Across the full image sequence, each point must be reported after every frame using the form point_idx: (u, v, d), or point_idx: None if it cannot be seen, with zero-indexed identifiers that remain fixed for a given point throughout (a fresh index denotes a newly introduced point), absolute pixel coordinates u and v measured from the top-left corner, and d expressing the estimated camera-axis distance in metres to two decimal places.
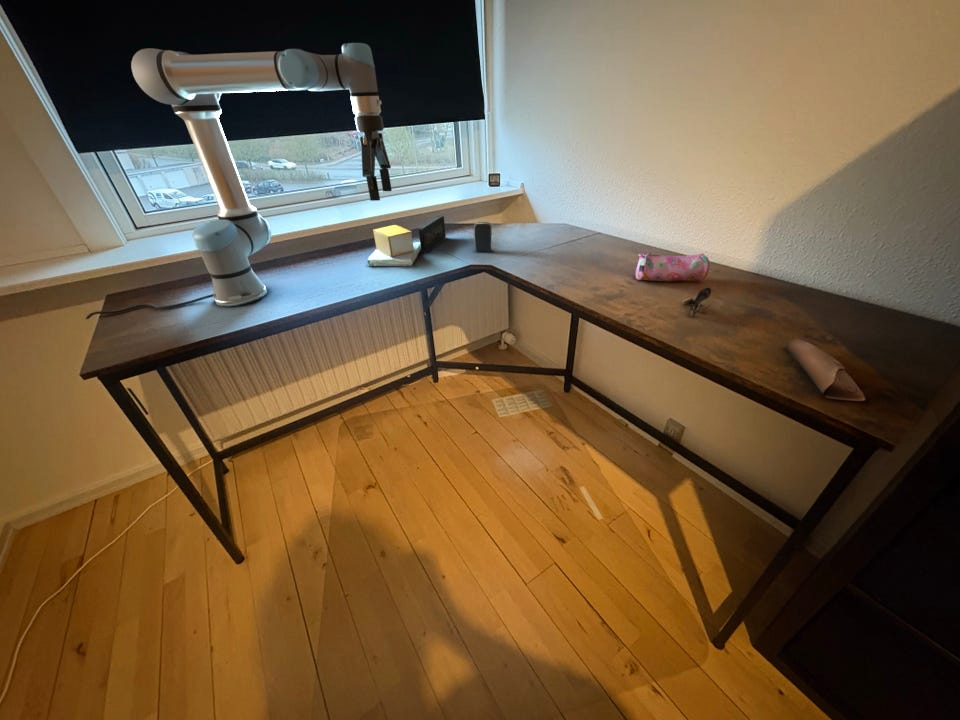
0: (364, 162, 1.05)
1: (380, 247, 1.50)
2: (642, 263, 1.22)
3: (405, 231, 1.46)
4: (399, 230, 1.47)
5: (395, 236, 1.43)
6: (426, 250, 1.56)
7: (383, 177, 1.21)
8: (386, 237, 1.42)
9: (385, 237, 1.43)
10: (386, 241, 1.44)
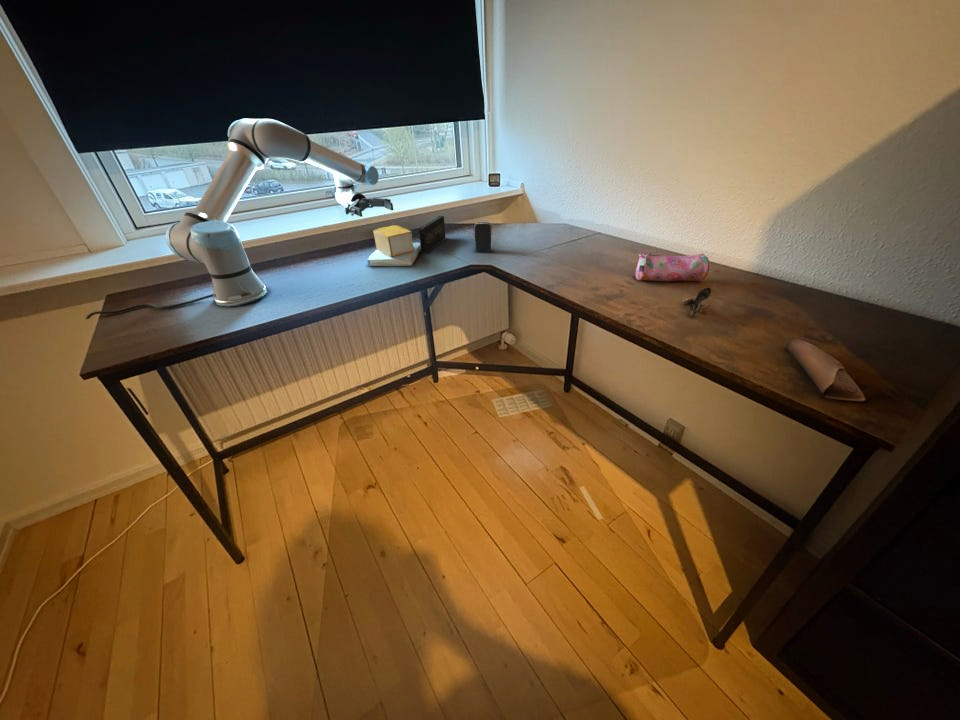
0: None
1: (380, 247, 1.50)
2: (642, 263, 1.22)
3: (405, 231, 1.46)
4: (399, 230, 1.47)
5: (395, 236, 1.43)
6: (426, 250, 1.56)
7: (387, 206, 1.57)
8: (386, 237, 1.42)
9: (385, 237, 1.43)
10: (386, 241, 1.44)
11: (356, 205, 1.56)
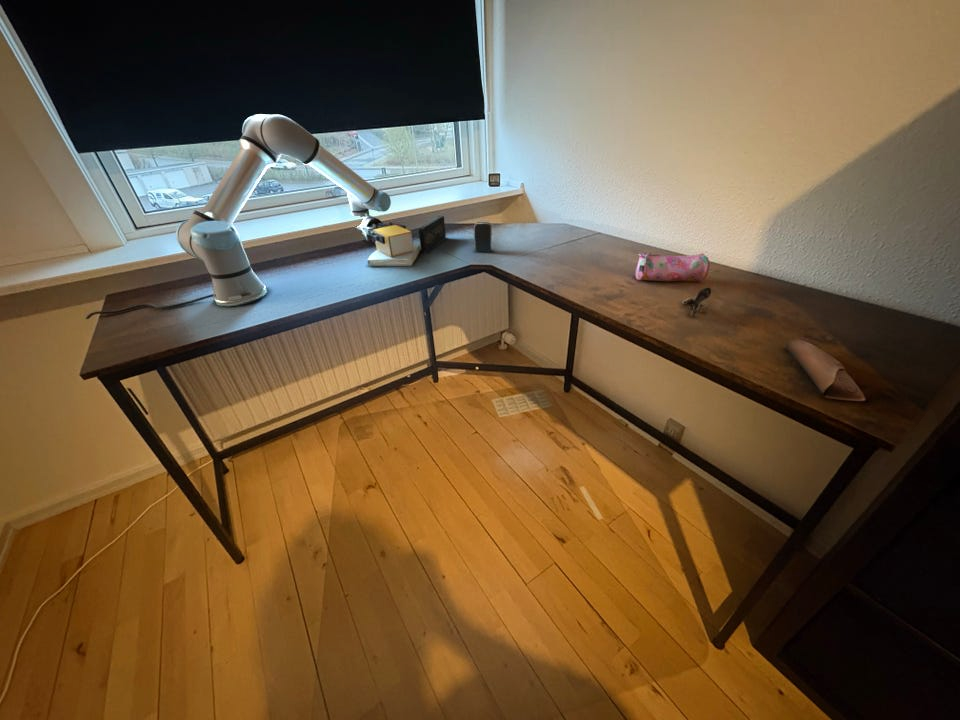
0: (365, 236, 1.50)
1: (380, 247, 1.50)
2: (642, 263, 1.22)
3: (405, 231, 1.46)
4: (399, 230, 1.47)
5: (395, 236, 1.43)
6: (426, 250, 1.56)
7: None
8: (386, 237, 1.42)
9: (385, 237, 1.43)
10: (386, 241, 1.44)
11: None
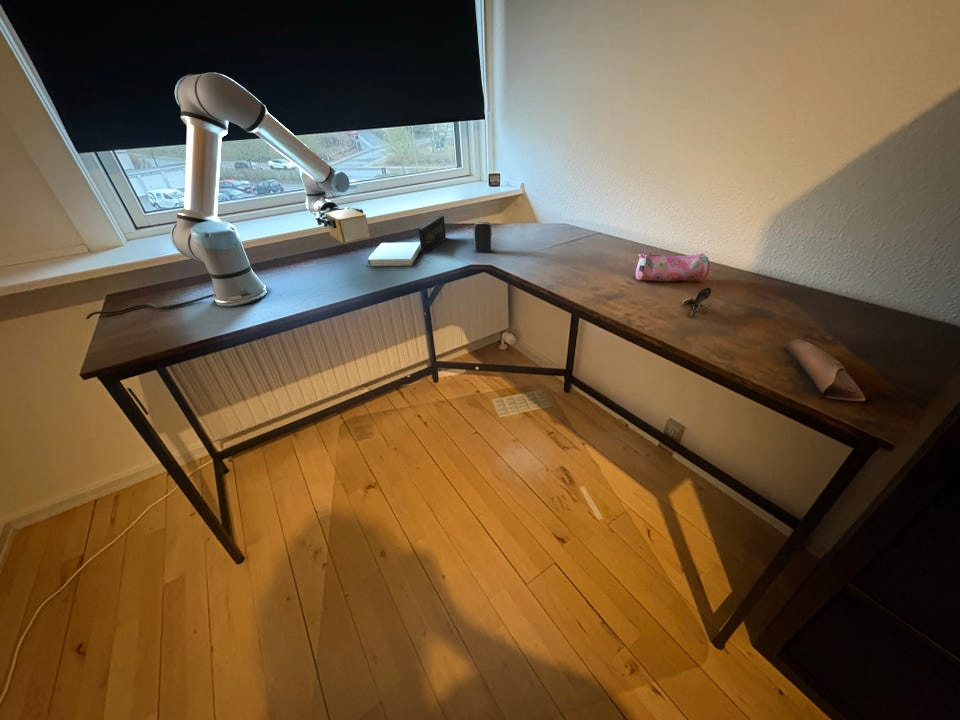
0: None
1: (333, 232, 1.36)
2: (642, 263, 1.22)
3: (359, 214, 1.32)
4: (353, 213, 1.33)
5: (347, 219, 1.29)
6: (426, 250, 1.56)
7: None
8: (336, 221, 1.29)
9: (335, 220, 1.29)
10: (337, 225, 1.30)
11: None
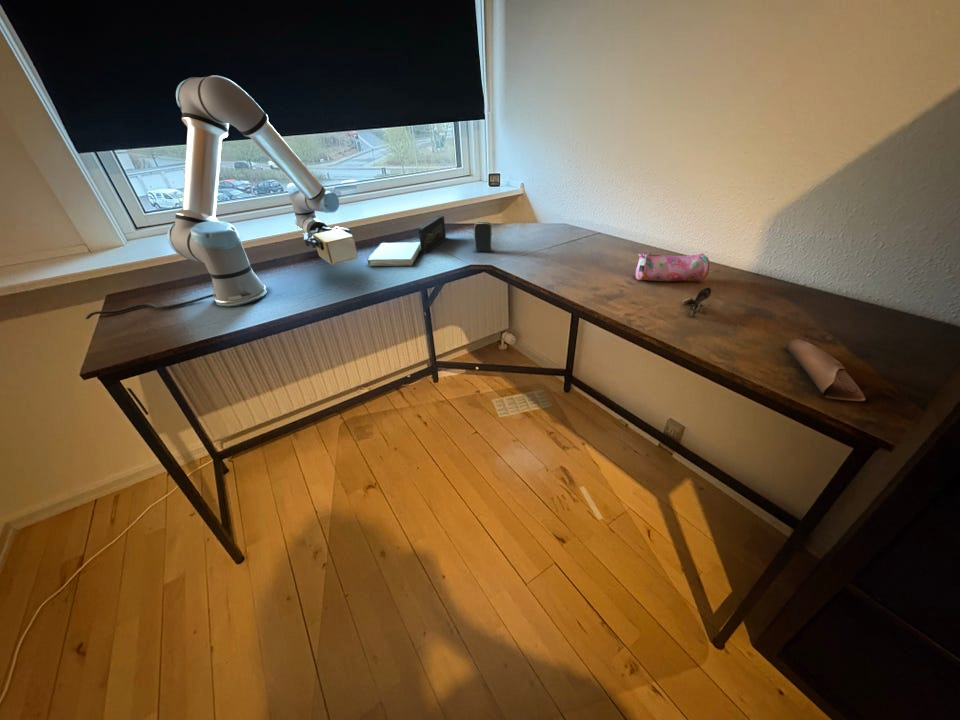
0: None
1: (321, 253, 1.37)
2: (642, 263, 1.22)
3: (346, 236, 1.33)
4: (340, 235, 1.34)
5: (334, 242, 1.29)
6: (426, 250, 1.56)
7: None
8: (323, 243, 1.29)
9: (323, 242, 1.30)
10: (324, 247, 1.31)
11: None
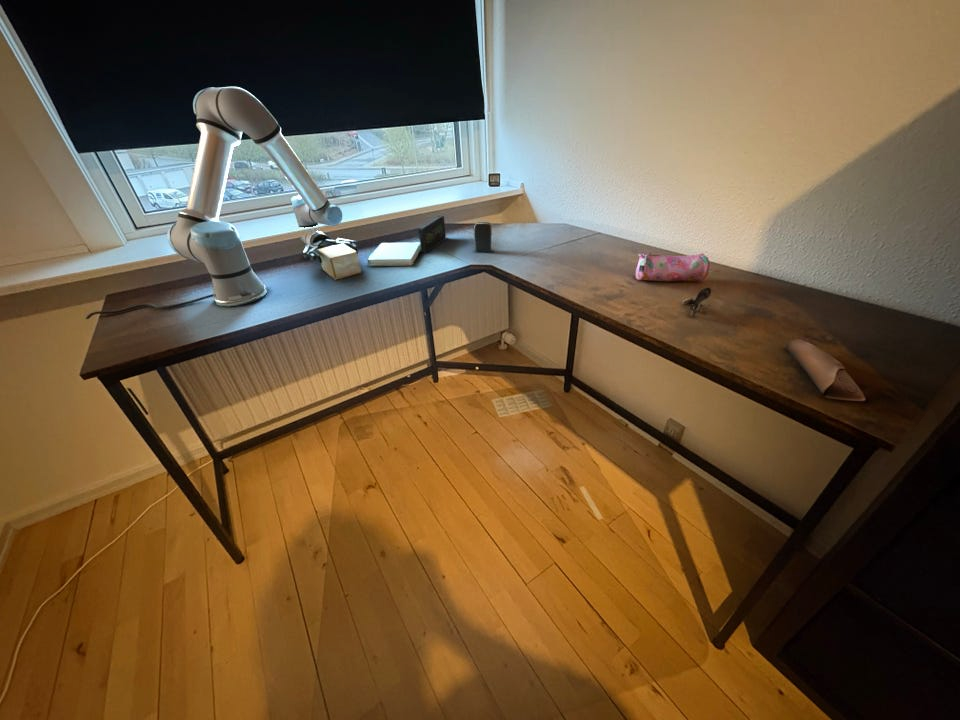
0: None
1: (325, 268, 1.40)
2: (642, 263, 1.22)
3: (350, 251, 1.36)
4: (344, 250, 1.37)
5: (338, 257, 1.33)
6: (426, 250, 1.56)
7: None
8: (328, 258, 1.32)
9: (327, 258, 1.33)
10: (329, 263, 1.34)
11: (317, 248, 1.42)
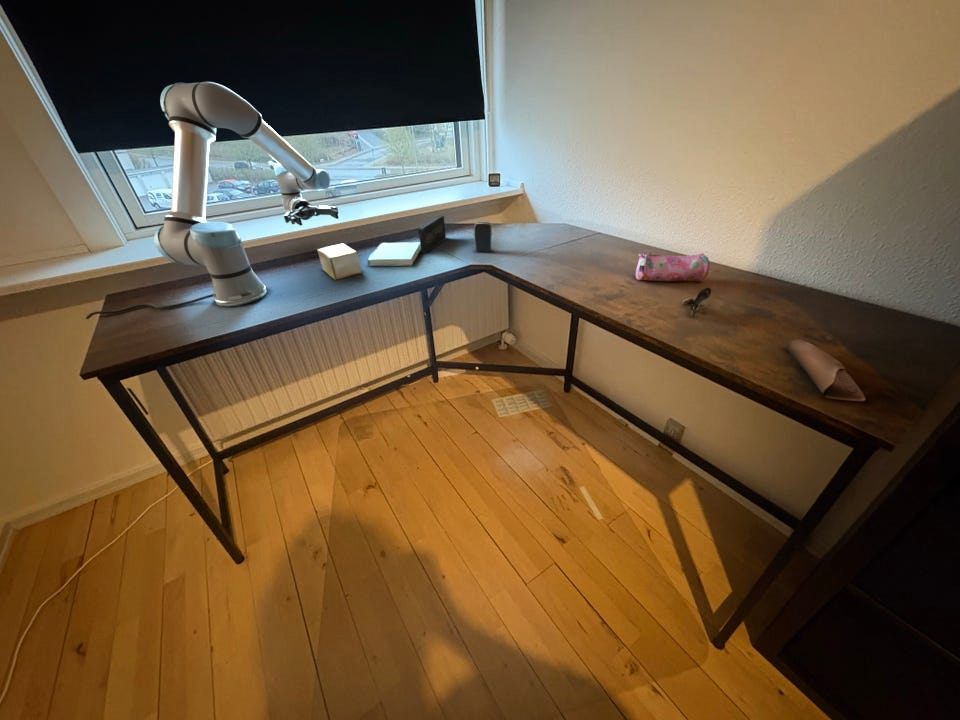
0: None
1: (325, 268, 1.40)
2: (642, 263, 1.22)
3: (350, 251, 1.36)
4: (344, 250, 1.37)
5: (338, 257, 1.33)
6: (426, 250, 1.56)
7: (332, 214, 1.46)
8: (328, 258, 1.32)
9: (327, 258, 1.33)
10: (329, 263, 1.34)
11: (298, 213, 1.44)
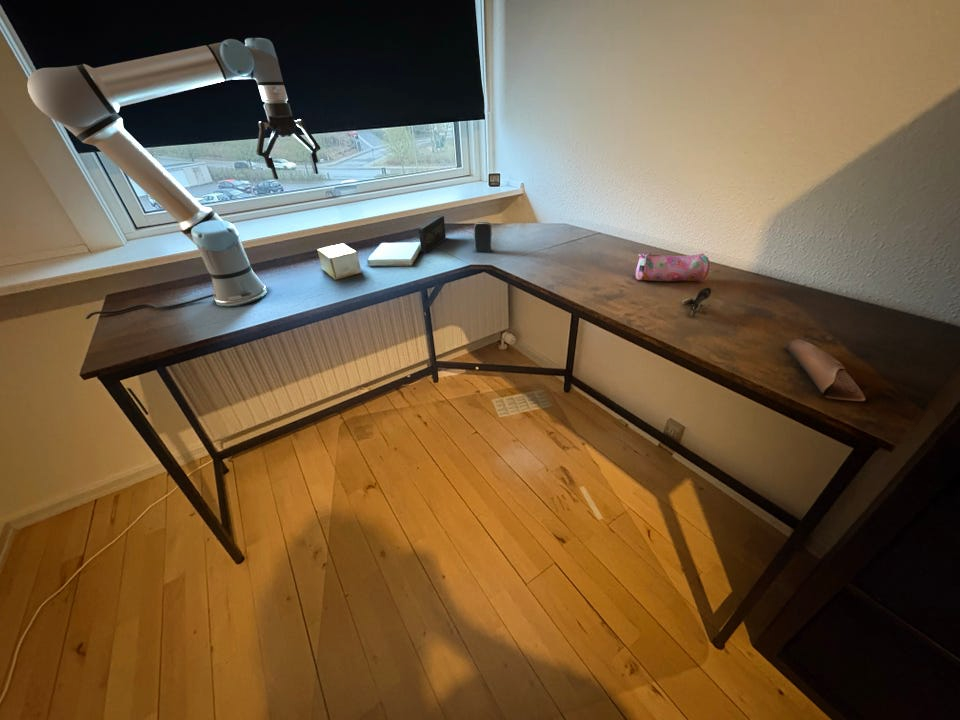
0: (258, 143, 1.21)
1: (325, 268, 1.40)
2: (642, 263, 1.22)
3: (350, 251, 1.36)
4: (344, 250, 1.37)
5: (338, 257, 1.33)
6: (426, 250, 1.56)
7: (311, 160, 1.33)
8: (328, 258, 1.32)
9: (327, 258, 1.33)
10: (329, 263, 1.34)
11: None
